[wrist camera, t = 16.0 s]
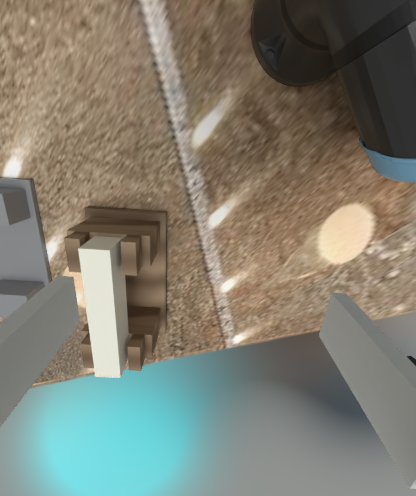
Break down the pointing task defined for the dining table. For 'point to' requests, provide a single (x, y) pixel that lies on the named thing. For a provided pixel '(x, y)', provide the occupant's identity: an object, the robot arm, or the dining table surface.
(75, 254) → the notched wooden cradle
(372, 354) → the robot arm
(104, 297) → the white rectangular bar
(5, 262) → the stand
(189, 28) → the dining table surface
